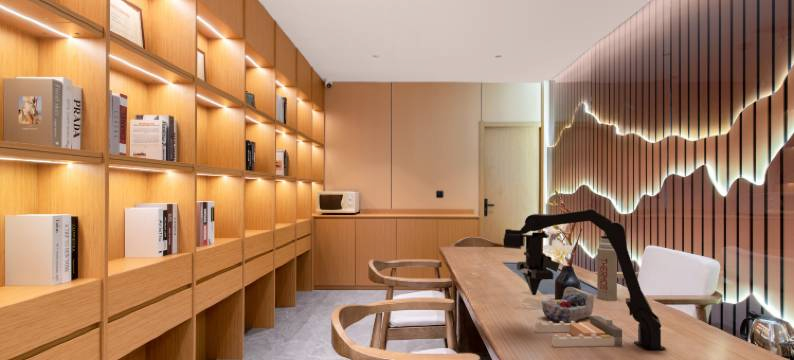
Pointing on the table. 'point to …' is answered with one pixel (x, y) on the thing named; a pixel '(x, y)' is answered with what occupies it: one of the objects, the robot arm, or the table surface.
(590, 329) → the block
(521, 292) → the table surface
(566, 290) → the cell model
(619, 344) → the comb channel
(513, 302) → the table surface
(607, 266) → the thermos bottle
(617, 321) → the table surface
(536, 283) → the robot arm
